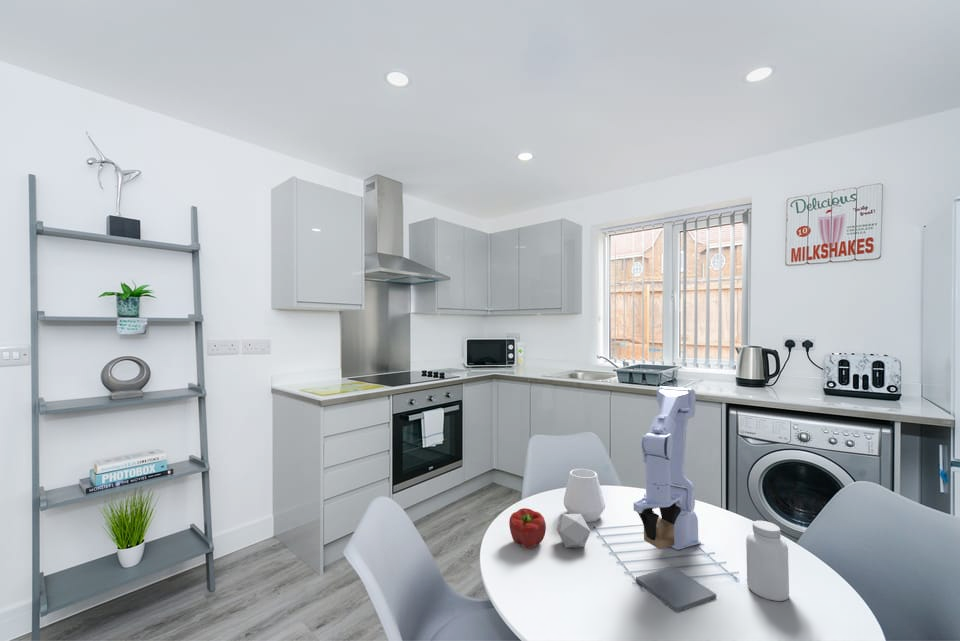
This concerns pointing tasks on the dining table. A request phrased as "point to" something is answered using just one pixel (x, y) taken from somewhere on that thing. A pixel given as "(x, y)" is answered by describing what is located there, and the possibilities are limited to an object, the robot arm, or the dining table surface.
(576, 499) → the white vase
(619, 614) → the dining table surface
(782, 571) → the pill bottle
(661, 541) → the tan cube
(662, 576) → the slate coaster
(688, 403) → the robot arm
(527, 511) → the vegetable
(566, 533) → the die
